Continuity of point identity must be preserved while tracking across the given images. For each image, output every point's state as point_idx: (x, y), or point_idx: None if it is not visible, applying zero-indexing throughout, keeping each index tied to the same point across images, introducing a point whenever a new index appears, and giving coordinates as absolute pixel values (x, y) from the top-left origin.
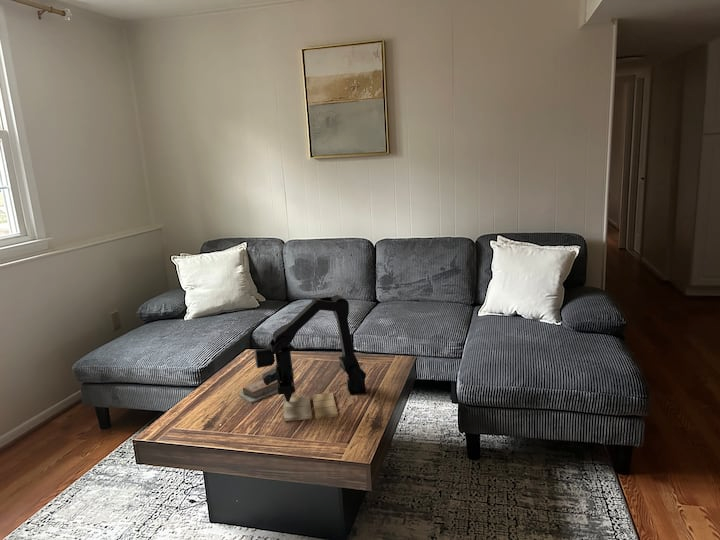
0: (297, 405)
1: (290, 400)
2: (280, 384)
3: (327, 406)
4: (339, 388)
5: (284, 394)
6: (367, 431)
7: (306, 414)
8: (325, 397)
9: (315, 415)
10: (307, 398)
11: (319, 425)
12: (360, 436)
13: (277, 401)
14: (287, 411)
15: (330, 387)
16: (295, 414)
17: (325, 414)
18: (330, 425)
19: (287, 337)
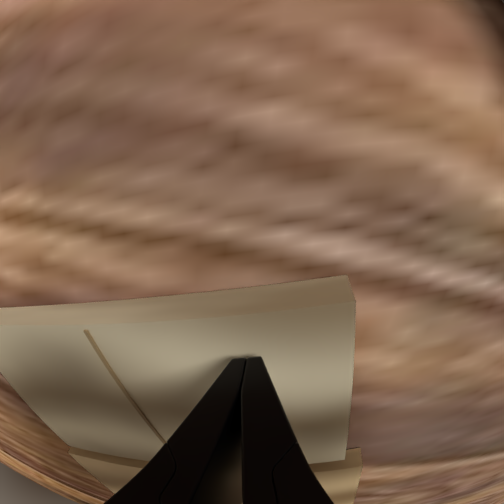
0: (170, 419)
1: (285, 376)
2: None
3: None
4: (411, 492)
5: (161, 452)
6: (68, 492)
7: (65, 432)
8: None
9: (79, 454)
10: (311, 457)
11: (38, 434)
12: (40, 477)
13: (406, 180)
14: (42, 351)
15: (445, 470)
16: (35, 390)
17: (100, 478)
18: (55, 457)
19: None
